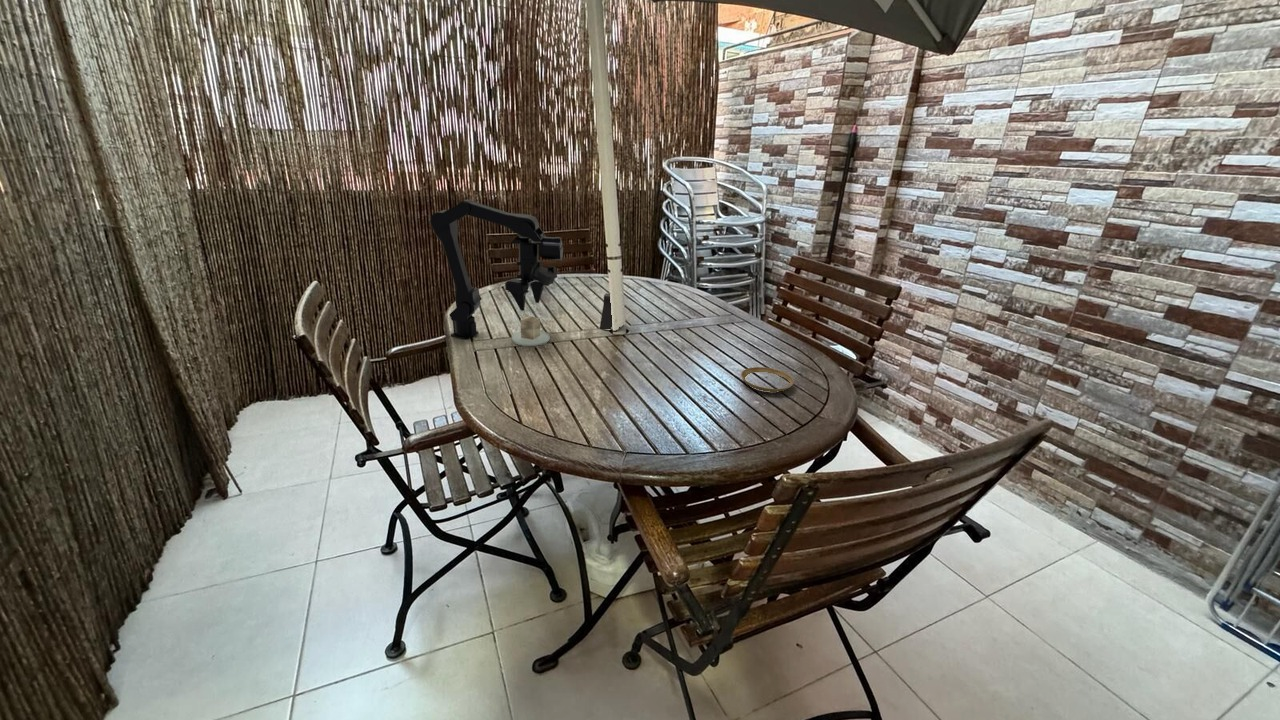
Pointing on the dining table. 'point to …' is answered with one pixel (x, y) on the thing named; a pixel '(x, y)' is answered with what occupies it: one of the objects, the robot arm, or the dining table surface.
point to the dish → (529, 342)
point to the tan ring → (769, 370)
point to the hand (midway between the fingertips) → (530, 306)
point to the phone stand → (606, 313)
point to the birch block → (530, 327)
